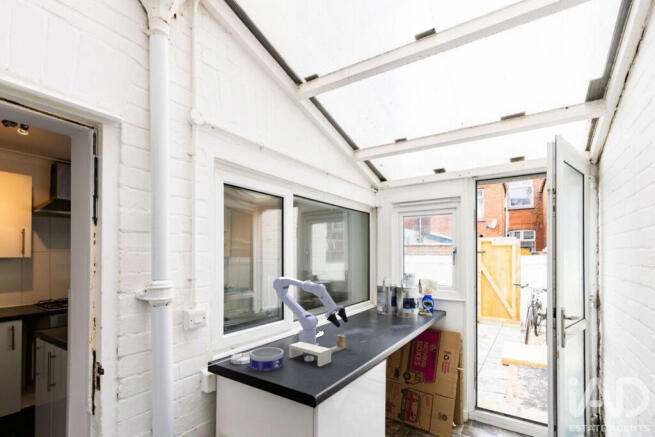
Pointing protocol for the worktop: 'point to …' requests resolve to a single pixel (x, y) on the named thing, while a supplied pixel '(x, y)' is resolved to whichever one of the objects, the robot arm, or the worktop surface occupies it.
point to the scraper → (338, 344)
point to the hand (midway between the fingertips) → (343, 324)
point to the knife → (319, 334)
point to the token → (309, 358)
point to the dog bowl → (266, 359)
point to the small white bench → (311, 352)
